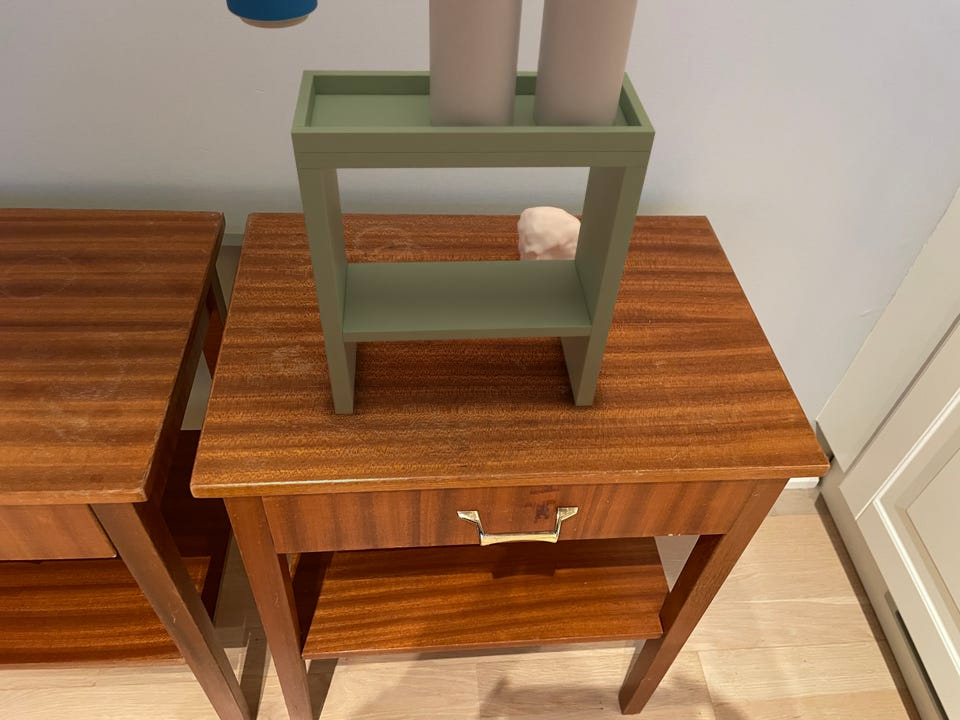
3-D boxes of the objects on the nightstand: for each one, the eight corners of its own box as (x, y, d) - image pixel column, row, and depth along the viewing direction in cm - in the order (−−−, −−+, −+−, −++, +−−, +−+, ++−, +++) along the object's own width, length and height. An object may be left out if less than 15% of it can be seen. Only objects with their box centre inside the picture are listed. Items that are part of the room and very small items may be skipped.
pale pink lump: (518, 193, 79) (622, 198, 81) (505, 255, 85) (603, 259, 87) (528, 227, 75) (638, 232, 77) (514, 290, 81) (616, 293, 83)
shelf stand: (335, 414, 68) (296, 169, 49) (340, 345, 74) (308, 104, 56) (591, 405, 70) (647, 166, 51) (575, 338, 76) (620, 104, 58)
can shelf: (296, 169, 49) (262, -44, 40) (308, 104, 56) (281, -93, 46) (647, 166, 51) (695, -36, 42) (620, 104, 58) (655, -84, 48)
